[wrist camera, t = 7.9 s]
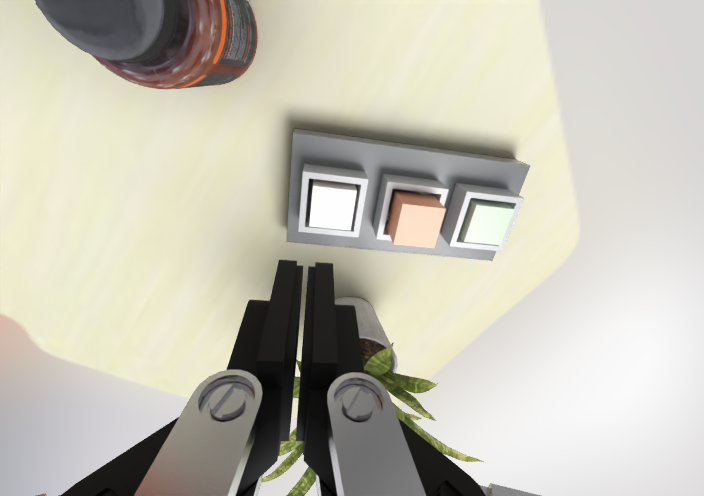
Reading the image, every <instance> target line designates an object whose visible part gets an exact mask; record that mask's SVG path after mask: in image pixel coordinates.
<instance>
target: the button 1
mask: <svg viewBox="0 0 704 496" xmlns="http://www.w3.org/2000/svg"><path fill="white" fill-rule="evenodd" d="M356 193H357V190H356V186H355V184H351V183H343V182H335V181H326V180H318V179H313V190H312V201H311V211H310V223H309V226H310V227H320V228H330V229H340V230H350V231H351V225H352V219H353V212H354V206H355V200H356Z"/></svg>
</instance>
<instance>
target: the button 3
mask: <svg viewBox="0 0 704 496" xmlns="http://www.w3.org/2000/svg"><path fill="white" fill-rule="evenodd" d="M514 210H515V209H513V208H512V207H510V206H509V205H508V204H506V203H505V202H502V201H493V200H485V199H477V198H471V199H470V202H469V205H468V208H467V211H466V214H465V217H464V220H463V223H462V226H461V229H460V232H459V237H460V238H461V239H462V240H463V241H464V242H471V243H481V244H491V245H501V242H502V240H503V237H504V235H505V232H506V230H507V227H508V225H509V222H510V220H511V217H512V215H513V212H514Z"/></svg>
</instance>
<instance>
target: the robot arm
mask: <svg viewBox="0 0 704 496" xmlns="http://www.w3.org/2000/svg"><path fill="white" fill-rule="evenodd" d="M302 276H303V266H297V261H289V260H279V263H278V267H277V272H276V276H275V281H274V285H273V290H272V294H271V299H270V301H263V300H249V302H248V304H247V307H246V310H245V313H244V317H243V320H242V323H241V326H240V329H239V332H238V336H237V339H236V342H235V345H234V348H233V351H232V355H231V358H230V361H229V364H228V367H227V370H226V371H221V372H218V373H216V374H214V375H212V376H209V377H208V378H207V379H206V380H204V381H203V382H202V383H200V385H199V386H198V387H197V389H196V390H195V391H194V393H193V394H192V396H191V398H190V399H189V401H188V403H187V405H186V406H185V408H184V410H183V412H182V413H181V415H180V417H178V418H177V419H175V420H174V421H172V422H170V423H169V424H167V425H166V426H164V427H163V428H161V429H160V430H158V431H156V432H155V433H153V434H152V435H151V436H149V437H147V438H146V439H144V440H143V441H141V442H139V443H138V444H136V445H135V446H133V447H132V448H130V449H129V450H127V451H126V452H124V453H123V454H121V455H119V456H118V457H116V458H115V459H113V460H112V461H110V462H109V463H107V464H106V465H104V466H102V467H101V468H99V469H98V470H96V471H95V472H93V473H92V474H90V475H89V476H87V477H86V478H84V479H82V480H81V481H79V482H78V483H76V484H75V485H74V486H72V487H71V488H70V489H68V490H67V491H66V492H65V493H63V494H62V495H60V496H258V492H259V489H260V485H261V482H262V475H263V474H264V472H266V471H267V470H268V469H269V468H270V467H271V466H272V465H273V464H274V463H275V462H276V461H277V458H278V455H279V454H280V445H281V441H289V435H290V423H291V413H292V401H293V390H294V379H295V368H296V357H297V346H298V334H299V320H300V305H301V291H302ZM296 441H304V445H303V455H304V461H305V462H306V463H307V465H308V466H309V467H310V468H311V469H312V470H313V471H314V472H315V473H316V485H317V493H318V496H540V495H536V494H531V493H528V492H523V491H520V490H515V489H511V488H507V487H503V486H499V485H495V484H490V485H489V487H484V486H480V485H478V484H477V483H476V482H475V481H474V480H473V479H472V478H471V477H470V476H469V475H468V474H467V473H465V472H464V471H463V470H462V469H460V468H459V467H458V466H457V465H456V464H454V463H453V462H452V461H451V460H449V459H448V458H447V457H446V456H444V455H443V454H442V453H441V452H440V451H438V450H437V449H436V448H435V447H433V446H432V445H431V444H430V443H429V442H427V441H426V440H425V439H424V438H422V437H421V436H420V435H419V434H417V433H416V432H415V431H414V430H412V429H411V428H410V427H409V426H408V425H406V424H405V423H404V422H403V421H401V420H400V419H399V418H398V417H397V415H396V412H395V409H394V407H393V404H392V401H391V398H390V396H389V394H388V392H387V390H386V388H385V387H384V386H383V385H382V384H381V383H380V382H379V381H378V380H377V379H375V378H374V377H372V376H370V375H367V374H364V367H363V360H362V353H361V345H360V338H359V331H358V323H357V316H356V309H355V306H354V305H339V304H335V297H334V278H333V264H332V263H318V262H316V264H315V267H310V266H309V269H308V281H307V294H306V307H305V320H304V332H303V346H302V360H301V374H300V388H299V402H298V416H297V430H296ZM38 496H47V495H46V494H41V495H38Z"/></svg>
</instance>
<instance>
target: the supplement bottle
mask: <svg viewBox="0 0 704 496" xmlns="http://www.w3.org/2000/svg"><path fill="white" fill-rule="evenodd" d="M35 1H36V5H37V6H38V8H39V9H40V10H41V11H42V13H43V14H44V16H45V17H46V19H47V20H48V21H49V22H50V24H51V25H52V26H53V27H54V28H55V29H56V30H57V31H58V32H59V33H60V34H61V35H62V36H63V37H65V38H66V39H67V40H68V41H69V42H70V43H72V44H74V45H75V46H77V47H78V48H80V49H81V50H83V51H85V52H87V53H89V54H91V55H92V56H93V57H94V58H95V59H96V60H98V61H99V62H100V63H101V64H102V65H103V66H105V67H106V68H107V69H108V70H110V71H112V72H113V73H115V74H116V75H118V76H120V77H122V78H124V79H125V80H128V81H130V82H132V83H135V84H139V85H141V86H146V87H151V88H157V89H174V88H175V89H180V88H190V87H201V86H210V85H221V84H225V83H228V82H231V81H233V80H235V79H237V78H238V77H240V76H241V75H242V74H243V73H244V72H245V71H246V70H247V69H248V68H249V66H250V65H251V63H252V61H253V59H254V56H255V53H256V48H257V26H256V21H255V17H254V14H253V11H252V9H251V7H250V5H249V3H248V1H247V0H35Z"/></svg>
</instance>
